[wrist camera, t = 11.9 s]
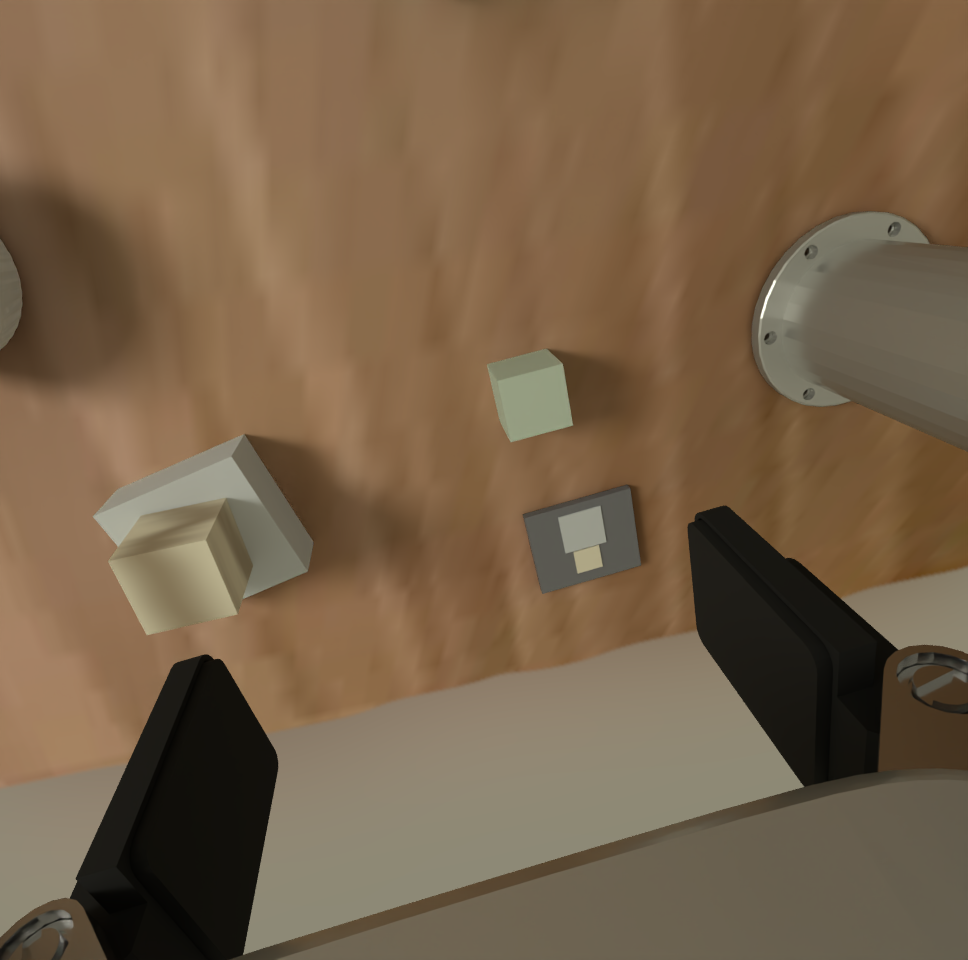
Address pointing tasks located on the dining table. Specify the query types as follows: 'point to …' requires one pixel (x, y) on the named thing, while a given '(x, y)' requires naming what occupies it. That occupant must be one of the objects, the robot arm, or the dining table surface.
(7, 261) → the ramekin
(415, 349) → the dining table surface
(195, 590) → the cream cube
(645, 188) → the dining table surface
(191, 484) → the grey base block
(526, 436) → the sage cube
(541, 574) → the card
